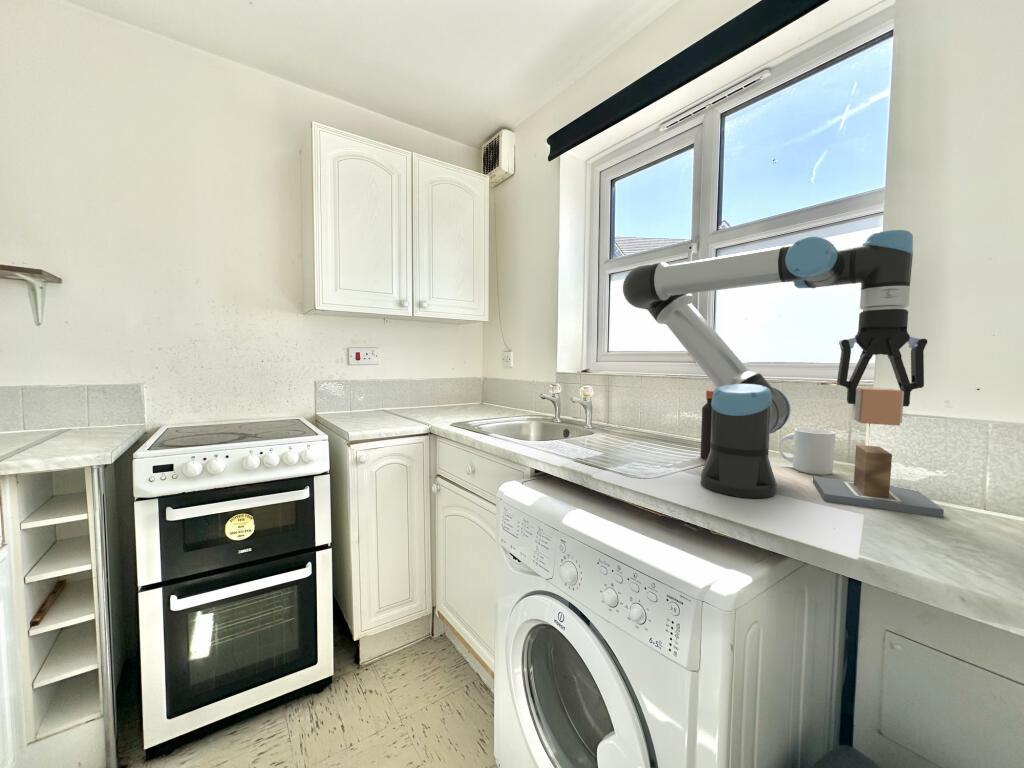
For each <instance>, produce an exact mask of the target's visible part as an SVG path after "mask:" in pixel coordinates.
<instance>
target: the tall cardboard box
mask: <svg viewBox="0 0 1024 768" xmlns="http://www.w3.org/2000/svg"><path fill="white" fill-rule="evenodd" d="M854 457H855V460H854V473H853V481H854V485H855V486H856V487H857V488H858V489H859V491H860V492H861V493H862V494H863V495H868V496H876V497H884V498H889V491H890V486H891V474H892V459H893V454H892V453H890V452H889V451H887V450H885V449H884V448H883V447H881V446H876V445H865V444H855V456H854Z"/></svg>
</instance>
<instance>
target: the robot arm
mask: <svg viewBox="0 0 1024 768" xmlns="http://www.w3.org/2000/svg"><path fill="white" fill-rule="evenodd" d="M913 239H914V236H913V234H912V232H910V231H909V230H904V229H891V230H884V231H880V232H875V233H872V234H869V235H867V236H866V237H865V238H864V240H863V243H862V245H860V246H857V247H851V248H845V249H838V250H837V247H835V245H834V244H833V243H832V242H831V241H829V240H828V239H825V238H823V237H819V236H806V237H803V238H801V239H798V240H797V241H796V242H794V243H793V244H786V245H784V246H783V245H781V246H776V247H769V248H764V249H763V248H762V249H757V250H751V251H746V252H739V253H734V254H729V255H721V256H717V257H712V258H711V257H710V258H704V259H698V260H693V261H687V262H682V263H674V264H670V265H669V264H668V263H666V261H665V262H664V261H663V262H657V263H650V264H644V265H639V266H636V267H634V268H633V269H631V270H630V271H629V272H628V274H627V275H626V276H625V278H624V280H623V284H622V293H623V296H624V299H625V300H626V301H627V303H628V304H630V305H631V306H632V307H635V308H636V309H637V308H638V309H643V310H647V311H648V312H649V314H650V315H651V316H652V318H653V320H655V321H656V323H657V324H659V325H666V326H667V327H668V328H669V330H670V331H671V332H672V334H673V335H674V336H675V338H677V340H678V341H679V343H680V344H681V345H682V346H683V347H684V348H685V350H686V352H687V353H688V354H689V355H690V356H691V358H692V359H693V360H694V362H696V364H697V365H698V367H699V368H700V369H701V370H702V371H703V373H704V374H705V375H706V377H708V379H709V380H710V382H712V384H713V385H714V386H715V387H716V388H714V389H713V390H714V392H713V398H712V401H711V406H712V413H711V445H710V453H709V456H708V458H707V459H705V464H704V465H703V468H702V471H701V473H700V485H702V486H703V487H704V488H705V489H708V490H710V491H713V492H716V493H719V494H723V495H727V496H733V497H737V498H738V497H739V498H749V499H765V498H766V499H767V498H770V497H774V496H775V495H776V494H777V481H776V477H775V473H774V472H773V469H772V465H771V461H770V459H769V451H770V450H769V449H770V434H772V433H776V431H778V430H780V429H781V428H783V427H784V426H785V425H786V423H787V422H788V420H789V419H790V416H791V415H790V414H791V411H792V410H791V404H790V401H789V399H788V397H787V396H786V395H785V394H784V393H783V392H782V391H781V390H780V389H778V388H777V387H773V386H772V385H771V384H770V383H769V382H768V381H767V380H766V379H765V378H764V376H763V375H762V374H761V373H760V372H756V371H755V372H754V371H750V370H749V369H748V368H747V367H746V366H745V364H744V363H743V362H742V360H740V359H739V357H738V356H737V355H736V354H735V353H734V352H733V350H732V349H731V348H730V347H729V346H728V344H727V343H726V342H725V341H724V340H723V338H721V336H720V335H719V334H718V332H716V330H715V329H714V328H713V327H712V326H711V324H710V323H709V322H708V321H707V320H706V318H705V317H704V316H703V315H702V314H701V313H700V312H699V311H698V309H697V308H696V307H695V306H694V305H693V302H694V296H693V294H695V293H704V292H712V291H714V292H715V291H720V290H721V291H722V290H730V289H737V288H738V289H739V288H746V287H754V286H762V285H763V286H764V285H770V284H778V283H779V284H780V283H789V282H790V283H791V282H792V283H793V285H794V287H795V288H797V289H816V288H822V287H823V288H824V287H832V286H841V285H850V284H851V285H853V284H854V285H855V284H860V299H859V309H860V310H862V311H860V313H859V315H858V331H857V333H856V334H855V336H854V337H852V338H848V339H845V338H844V339H841V340H839V342H838V345H839V346H840V347H839V348H840V350H841V352H840V359H839V365H838V373H837V379H836V384H837V385H839V386H842V387H845V388H846V389H847V391H846V402H847V404H848V405H852V407H851V419H852V420H853V421H856V420H859V416H860V401H861V390H860V389H856V388H858V386H859V384H860V381H861V379H862V377H863V375H864V373H865V371H866V369H867V367H868V365H869V362H870V360H871V359H872V357H873V356H874V355H875V356H877V355H883V356H887V357H888V359H889V361H890V364H891V367H892V371H893V373H894V376H895V378H896V382H897V384H898V387H899V390H900V391H902V401H901V416H900V424H902V423H903V411H904V407H909V406H910V403H911V402H910V401H911V393H912V391H913V390H917V389H922V388H924V387H925V374H924V373H925V365H924V363H925V361H924V359H925V358H924V355H925V353H924V351H925V349H926V346H927V344H928V339H926V338H918V337H912V336H910V334H909V333H908V323H909V310H907V309H906V308H907V307H909V305H910V292H911V291H910V290H911V289H910V287H911V279H912V278H911V277H912V268H913V267H912V266H913V257H914V246H913V245H914V240H913ZM855 343H856V344H857V345H858V347H860V348H861V349H862V351H861V353H860V355H859V359H858V361H857V363H856V366H855V367H854V370H853V372H852V374H851V376H850V377H849V380H848V374H849V368H850V361H851V356H852V355H851V354H852V349H853V348H854V347H855ZM907 343H908V348H910V374H911V375H910V379H909V376H908V373H907V369H906V367H905V365H904V361H903V358H902V354H901V348H903V346H905V345H906V344H907Z"/></svg>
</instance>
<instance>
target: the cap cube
mask: <svg viewBox="0 0 1024 768" xmlns="http://www.w3.org/2000/svg"><path fill="white" fill-rule="evenodd" d="M856 389H860V390H861V401H860V416H859V420H855V421H857V423H860V424H866V425H867V424H870V425H881V426H882V425H885V426H900V425H901V423H900V416H901V401H902V391H900V389H896V388H880V387H878V388H876V387H875V388H874V387H857V388H856Z"/></svg>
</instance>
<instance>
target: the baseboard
mask: <svg viewBox="0 0 1024 768" xmlns="http://www.w3.org/2000/svg"><path fill="white" fill-rule="evenodd" d="M812 483H813V485H814V487H815V488H816V490H817V492H818V493H819V495H820V496H821V498H822V500H823V501H824V502H830V503H837V504H844V505H850V506H851V505H852V506H858V507H866V508H872V509H880V510H887V511H894V512H902V513H908V514H909V513H910V514H915V515H916V514H917V515H924V516H931V517H936V518H937V517H938V518H944V512H945V511H944V510H945V509H944V508H942V507H941V506H939V505H938V504H936V503H935V502H934V501H933V500H931V499H930V498H928V497H927V496H926V495H925V494H923V493H922V492H921V491H919V490H918V491H914V490H910V489H904V488H899V487H900V486H899V487H894V486H895V485H890V491H889V498H884V497H876V496H868V495H863V494H862V493H861V492H860V491H859V489H858V488H857V487H856V486H855V485H854V480H847V479H838V478H837V479H836V478H830V477H829V478H828V477H821V476H813V477H812Z"/></svg>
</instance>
